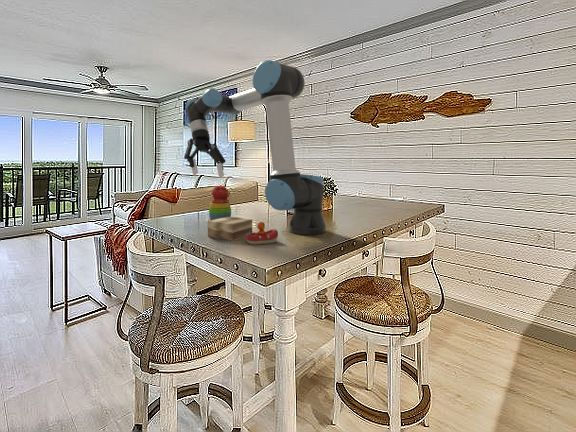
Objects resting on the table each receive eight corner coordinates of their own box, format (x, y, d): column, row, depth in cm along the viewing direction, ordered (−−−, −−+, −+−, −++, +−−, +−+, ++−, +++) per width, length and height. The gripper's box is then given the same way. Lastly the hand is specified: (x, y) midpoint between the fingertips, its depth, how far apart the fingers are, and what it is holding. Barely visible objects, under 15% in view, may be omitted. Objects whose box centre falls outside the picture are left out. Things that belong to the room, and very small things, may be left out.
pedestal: (252, 234, 141) (252, 219, 140) (232, 240, 131) (232, 224, 130) (228, 231, 147) (228, 216, 146) (207, 236, 137) (207, 221, 136)
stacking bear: (227, 230, 149) (227, 187, 146) (204, 228, 151) (203, 186, 148) (236, 225, 159) (236, 184, 156) (215, 223, 161) (214, 184, 158)
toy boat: (280, 244, 128) (280, 223, 127) (248, 246, 124) (248, 224, 123) (273, 239, 135) (274, 219, 134) (243, 241, 131) (243, 220, 129)
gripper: (217, 140, 174) (226, 181, 169) (170, 131, 155) (179, 176, 150) (227, 133, 169) (236, 174, 164) (179, 122, 150) (188, 169, 146)
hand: (209, 175), depth 157 cm, fingers open, 13 cm apart
